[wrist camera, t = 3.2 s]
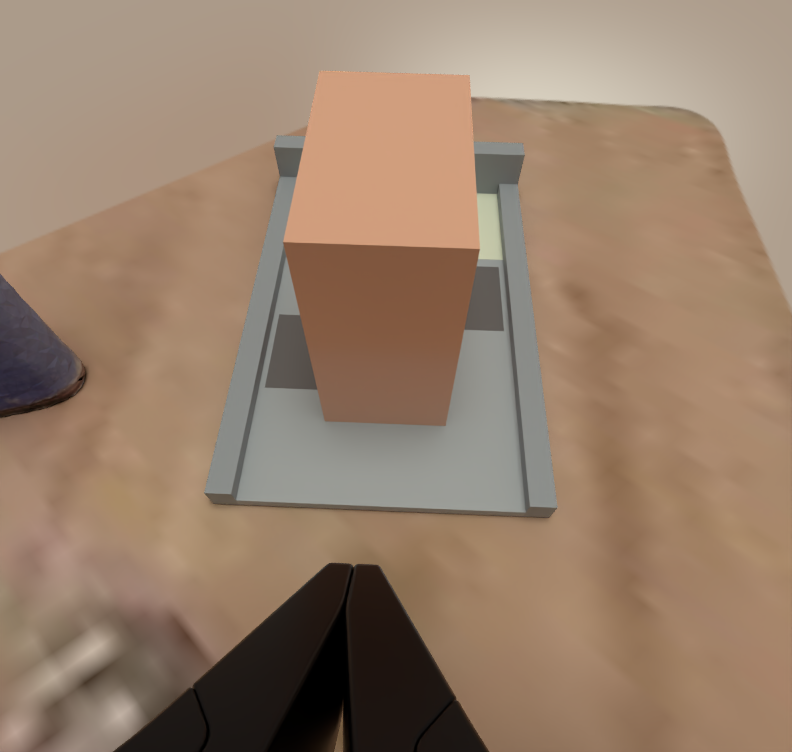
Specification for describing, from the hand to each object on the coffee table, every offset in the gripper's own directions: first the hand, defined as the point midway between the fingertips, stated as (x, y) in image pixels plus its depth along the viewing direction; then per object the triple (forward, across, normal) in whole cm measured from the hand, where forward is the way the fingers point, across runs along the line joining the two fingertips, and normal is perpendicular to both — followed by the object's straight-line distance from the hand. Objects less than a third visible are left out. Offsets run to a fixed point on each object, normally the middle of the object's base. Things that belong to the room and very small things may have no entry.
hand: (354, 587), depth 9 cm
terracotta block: (+16, 0, -1) cm, 16 cm away
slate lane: (+18, 0, -2) cm, 18 cm away
